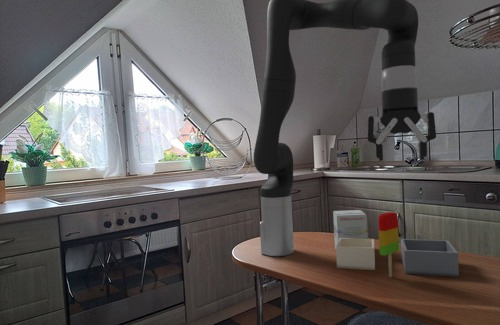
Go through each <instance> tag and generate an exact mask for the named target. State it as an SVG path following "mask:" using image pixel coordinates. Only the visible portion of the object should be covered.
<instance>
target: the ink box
mask: <svg viewBox="0 0 500 325" xmlns="http://www.w3.org/2000/svg"><path fill="white" fill-rule="evenodd" d="M332 214H333V234H334V237H333V238H334V249H335V250H336V245H337V243H338V240H339V238H357V239H369V228H368V215H367V214H366V213H365V212H364V211H362V210H360V209H354V210H353V209H352V210H351V209H349V210H333V211H332Z"/></svg>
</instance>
